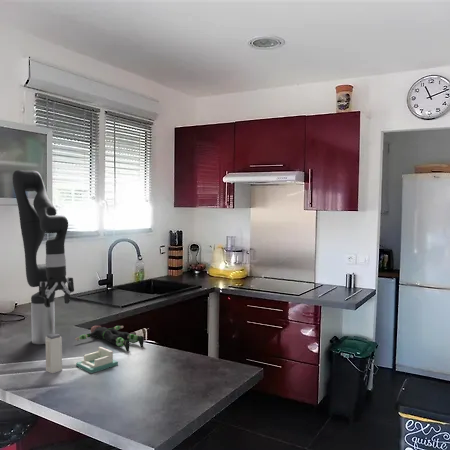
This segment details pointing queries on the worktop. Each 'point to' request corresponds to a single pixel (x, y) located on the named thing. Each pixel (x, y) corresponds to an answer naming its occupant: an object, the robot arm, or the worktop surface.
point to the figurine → (114, 336)
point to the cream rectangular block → (53, 353)
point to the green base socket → (97, 360)
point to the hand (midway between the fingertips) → (57, 305)
